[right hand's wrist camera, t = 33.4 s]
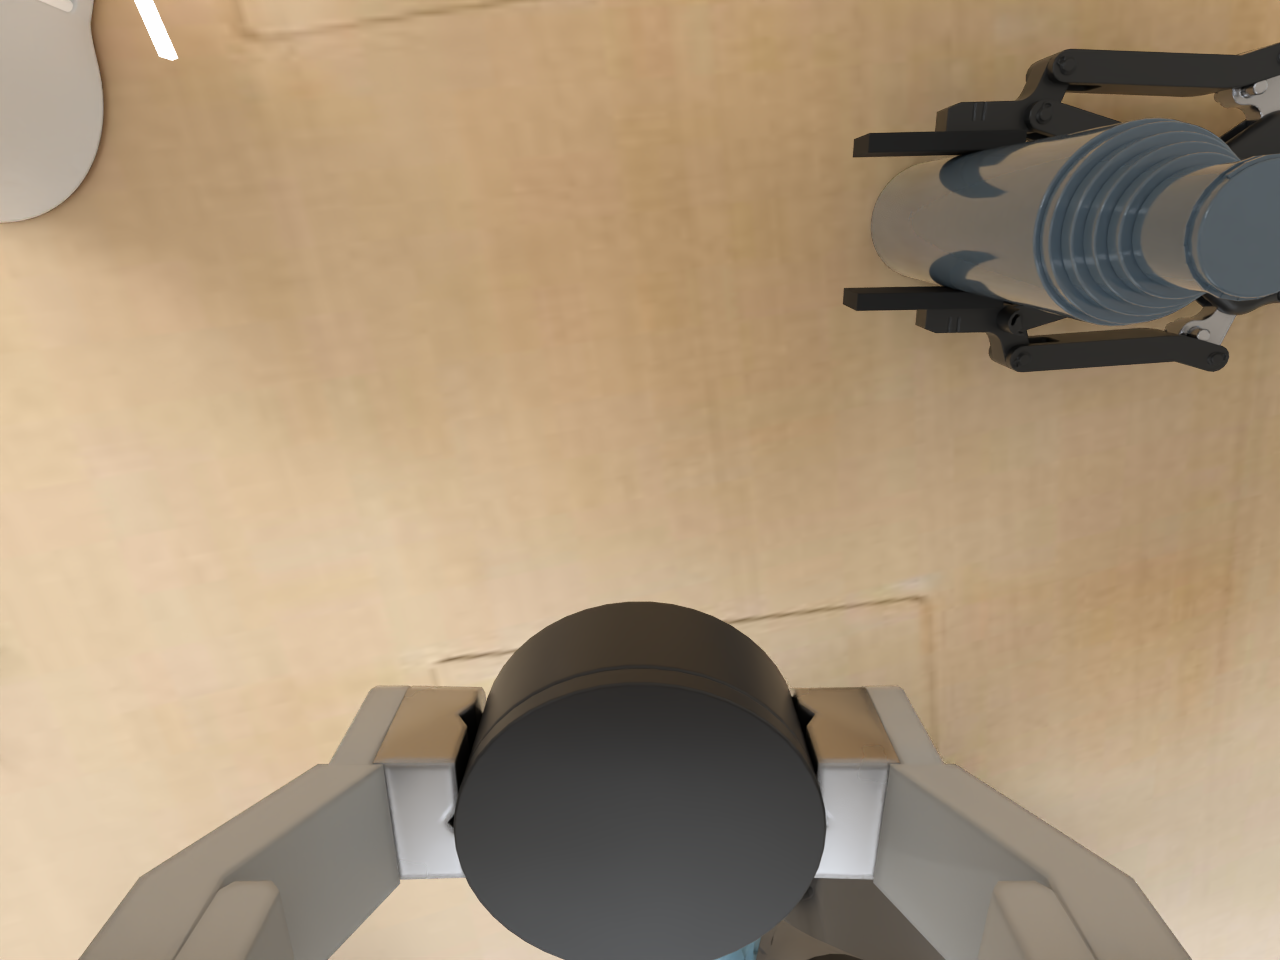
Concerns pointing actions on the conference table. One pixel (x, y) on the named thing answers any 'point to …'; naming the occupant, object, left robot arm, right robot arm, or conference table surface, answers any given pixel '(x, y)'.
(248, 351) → the conference table surface
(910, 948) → the left robot arm
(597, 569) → the conference table surface
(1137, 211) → the bottle
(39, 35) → the right robot arm
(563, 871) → the cap
